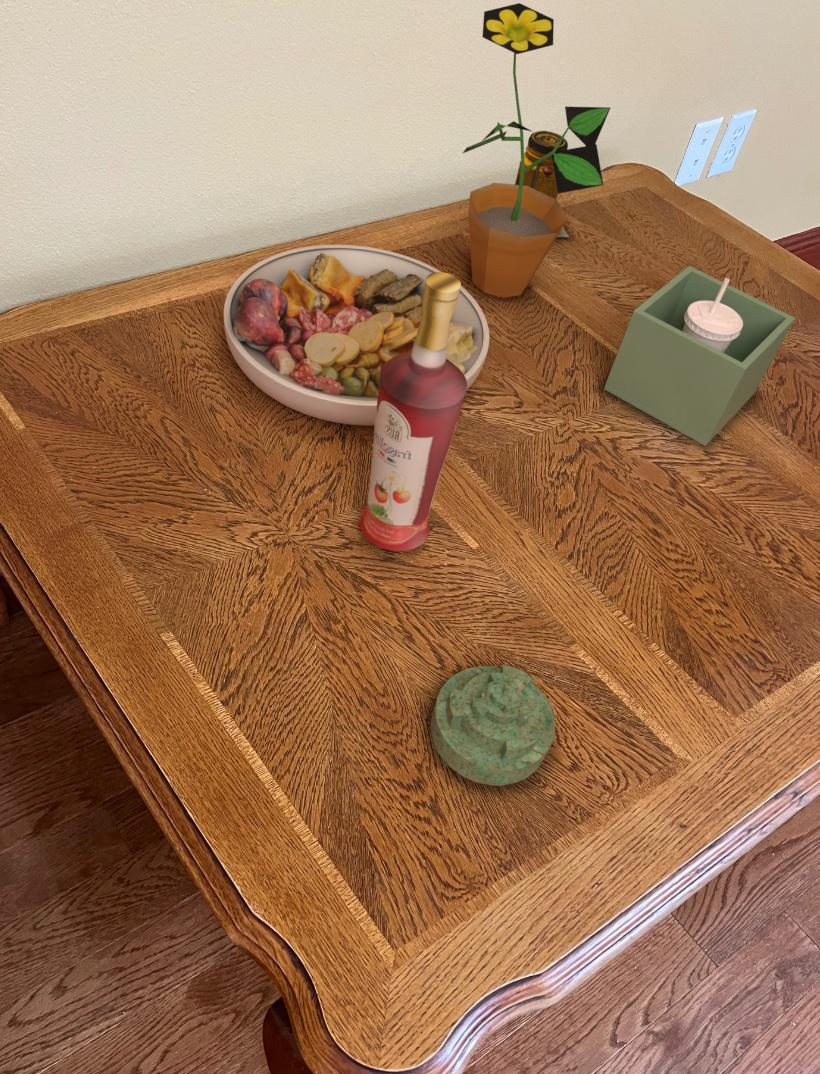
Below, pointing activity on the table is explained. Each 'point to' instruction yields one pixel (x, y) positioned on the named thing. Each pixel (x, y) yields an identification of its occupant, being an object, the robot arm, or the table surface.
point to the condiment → (542, 165)
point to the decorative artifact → (492, 725)
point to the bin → (694, 357)
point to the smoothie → (713, 321)
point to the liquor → (414, 425)
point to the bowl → (338, 327)
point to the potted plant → (516, 210)
